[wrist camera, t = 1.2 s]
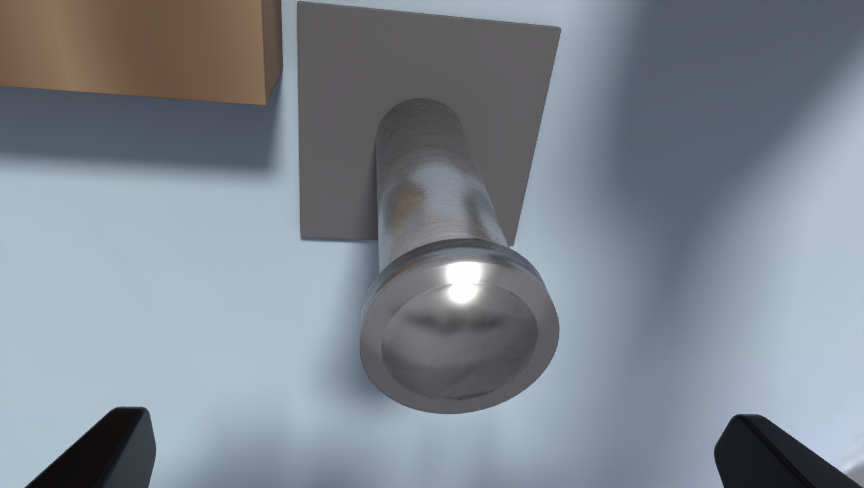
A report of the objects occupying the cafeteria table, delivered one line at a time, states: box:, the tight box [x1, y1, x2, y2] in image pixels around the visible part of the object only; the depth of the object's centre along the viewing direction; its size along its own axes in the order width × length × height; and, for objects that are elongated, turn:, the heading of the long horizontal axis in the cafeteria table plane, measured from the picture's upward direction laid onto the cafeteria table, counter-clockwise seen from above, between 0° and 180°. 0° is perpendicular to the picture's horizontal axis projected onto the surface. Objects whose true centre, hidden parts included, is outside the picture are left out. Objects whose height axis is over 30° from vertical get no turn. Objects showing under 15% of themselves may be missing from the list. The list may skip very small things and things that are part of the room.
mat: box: [297, 1, 561, 246], centre depth 19 cm, size 8×8×1 cm
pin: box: [360, 98, 559, 414], centre depth 15 cm, size 4×4×10 cm
